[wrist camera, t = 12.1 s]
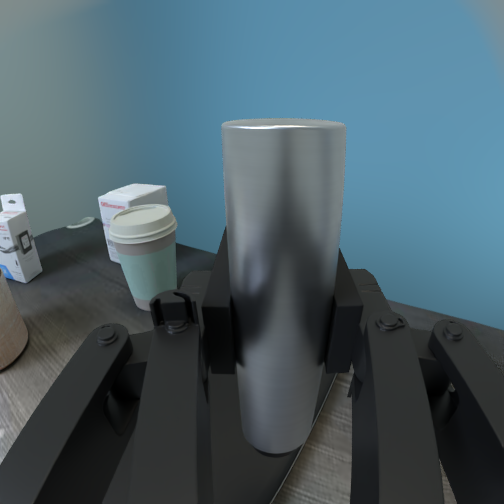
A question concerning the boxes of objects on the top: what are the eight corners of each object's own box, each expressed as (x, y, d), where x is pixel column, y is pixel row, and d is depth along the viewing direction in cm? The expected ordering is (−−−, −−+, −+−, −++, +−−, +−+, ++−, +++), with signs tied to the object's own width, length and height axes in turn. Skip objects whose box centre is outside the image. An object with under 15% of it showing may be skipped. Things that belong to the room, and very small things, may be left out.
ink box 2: (176, 250, 55) (167, 185, 50) (140, 272, 48) (127, 200, 43) (143, 241, 59) (134, 182, 54) (109, 260, 52) (95, 196, 47)
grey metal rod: (309, 414, 14) (338, 120, 8) (306, 465, 12) (355, 127, 6) (248, 409, 15) (235, 118, 9) (238, 460, 12) (205, 126, 6)
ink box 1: (3, 277, 47) (-20, 204, 40) (19, 265, 51) (0, 194, 45) (26, 284, 45) (1, 202, 38) (44, 270, 49) (23, 192, 43)
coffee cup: (193, 282, 45) (183, 201, 40) (178, 319, 38) (162, 226, 32) (138, 281, 46) (123, 204, 41) (116, 315, 38) (93, 228, 33)
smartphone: (58, 502, 15) (48, 493, 15) (231, 326, 37) (230, 314, 36) (199, 605, 10) (194, 605, 9) (343, 359, 31) (346, 347, 30)
